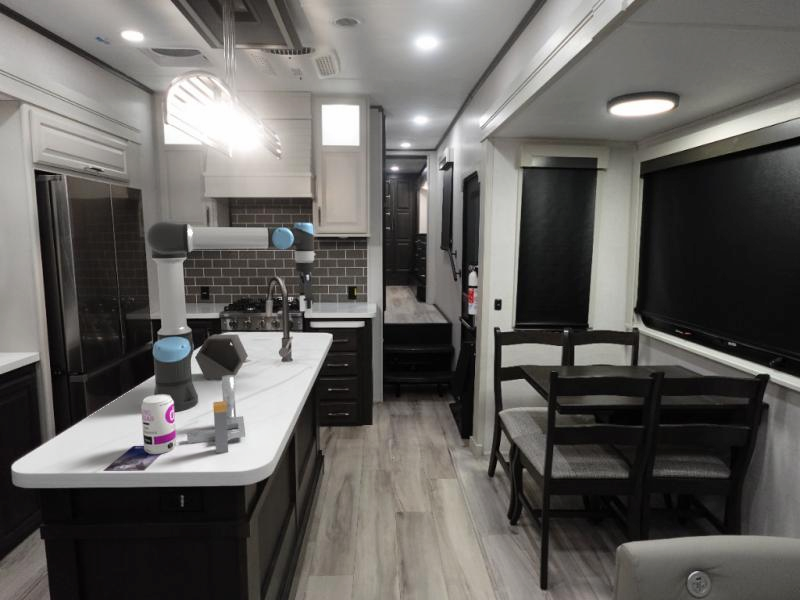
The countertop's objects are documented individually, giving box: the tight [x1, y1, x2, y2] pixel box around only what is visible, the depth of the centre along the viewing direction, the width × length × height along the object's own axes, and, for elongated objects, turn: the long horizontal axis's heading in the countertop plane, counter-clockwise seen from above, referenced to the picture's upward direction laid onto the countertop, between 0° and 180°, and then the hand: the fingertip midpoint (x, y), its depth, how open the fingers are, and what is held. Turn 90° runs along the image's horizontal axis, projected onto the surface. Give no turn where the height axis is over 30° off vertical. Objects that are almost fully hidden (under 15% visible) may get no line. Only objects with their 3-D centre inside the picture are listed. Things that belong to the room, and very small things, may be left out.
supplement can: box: [140, 394, 177, 455], centre depth 137 cm, size 8×8×15 cm
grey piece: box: [186, 375, 246, 445], centre depth 147 cm, size 16×17×16 cm
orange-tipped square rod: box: [212, 400, 229, 455], centre depth 136 cm, size 3×3×14 cm
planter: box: [194, 333, 248, 380], centre depth 203 cm, size 17×8×21 cm
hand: (305, 313), depth 197 cm, fingers open, 13 cm apart
